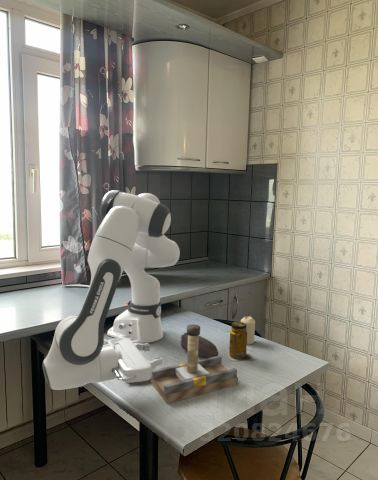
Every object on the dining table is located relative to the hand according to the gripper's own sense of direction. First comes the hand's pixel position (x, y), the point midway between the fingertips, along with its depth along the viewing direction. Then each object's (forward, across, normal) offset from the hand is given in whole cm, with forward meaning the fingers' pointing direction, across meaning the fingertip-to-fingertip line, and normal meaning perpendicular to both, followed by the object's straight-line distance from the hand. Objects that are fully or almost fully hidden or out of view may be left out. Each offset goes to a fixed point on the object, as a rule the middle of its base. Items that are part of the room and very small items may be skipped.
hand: (155, 353), depth 107 cm
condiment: (+37, +9, +13) cm, 40 cm away
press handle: (+12, 0, +10) cm, 16 cm away
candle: (+46, +18, +13) cm, 51 cm away
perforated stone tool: (+24, +16, +13) cm, 31 cm away
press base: (+13, 0, +12) cm, 18 cm away
